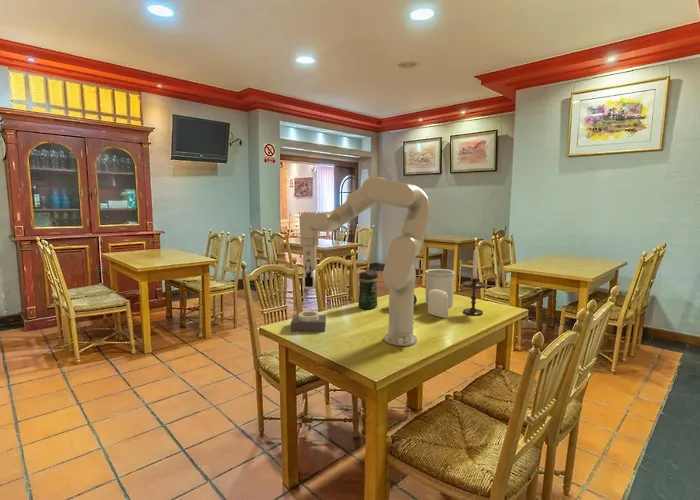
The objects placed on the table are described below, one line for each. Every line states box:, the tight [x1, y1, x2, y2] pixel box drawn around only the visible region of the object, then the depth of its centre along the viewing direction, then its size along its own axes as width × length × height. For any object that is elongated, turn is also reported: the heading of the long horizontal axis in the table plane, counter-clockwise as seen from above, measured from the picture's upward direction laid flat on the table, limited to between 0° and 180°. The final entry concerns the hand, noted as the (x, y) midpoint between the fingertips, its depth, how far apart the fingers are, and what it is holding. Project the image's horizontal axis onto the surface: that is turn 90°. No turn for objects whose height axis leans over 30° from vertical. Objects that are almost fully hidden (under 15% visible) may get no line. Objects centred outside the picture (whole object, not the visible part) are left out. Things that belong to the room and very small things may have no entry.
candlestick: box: [461, 241, 487, 317], centre depth 186 cm, size 11×11×35 cm
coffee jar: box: [358, 269, 379, 310], centre depth 196 cm, size 10×8×19 cm
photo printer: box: [427, 289, 449, 319], centre depth 183 cm, size 10×4×12 cm, turn 39°
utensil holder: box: [424, 268, 455, 308], centre depth 202 cm, size 15×15×18 cm
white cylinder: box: [303, 268, 317, 290], centre depth 164 cm, size 5×5×8 cm
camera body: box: [290, 310, 327, 333], centre depth 166 cm, size 10×14×6 cm
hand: (309, 284), depth 164 cm, fingers closed on white cylinder, 5 cm apart
